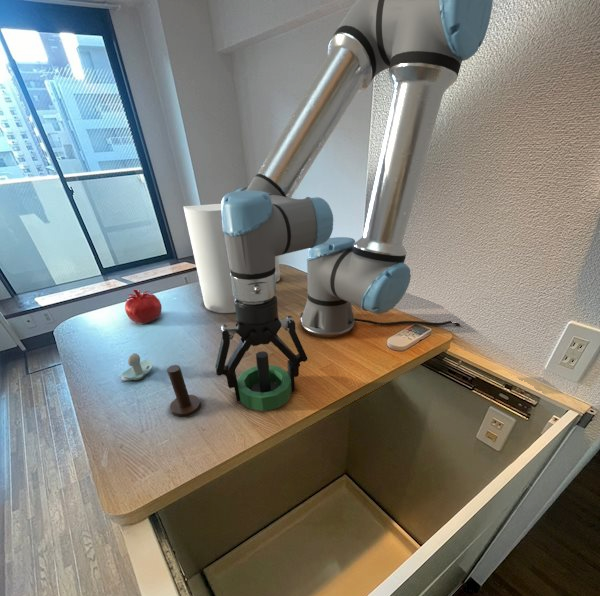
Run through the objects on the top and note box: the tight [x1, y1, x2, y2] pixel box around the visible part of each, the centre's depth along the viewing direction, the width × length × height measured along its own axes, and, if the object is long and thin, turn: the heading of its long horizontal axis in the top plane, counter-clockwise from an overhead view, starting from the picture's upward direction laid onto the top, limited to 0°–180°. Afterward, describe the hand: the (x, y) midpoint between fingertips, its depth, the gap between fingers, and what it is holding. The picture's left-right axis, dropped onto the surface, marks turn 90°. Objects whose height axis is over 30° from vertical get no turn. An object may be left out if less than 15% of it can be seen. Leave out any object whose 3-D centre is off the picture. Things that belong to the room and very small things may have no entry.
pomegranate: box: [124, 288, 163, 325], centre depth 96 cm, size 10×10×9 cm
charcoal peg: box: [251, 350, 280, 393], centre depth 68 cm, size 6×6×10 cm
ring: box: [237, 364, 292, 412], centre depth 70 cm, size 11×11×4 cm
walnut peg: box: [166, 364, 202, 418], centre depth 65 cm, size 6×6×10 cm
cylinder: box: [183, 203, 236, 314], centre depth 98 cm, size 17×17×28 cm
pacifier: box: [121, 352, 154, 382], centre depth 75 cm, size 7×6×6 cm
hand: (265, 392), depth 71 cm, fingers closed on ring, 11 cm apart
